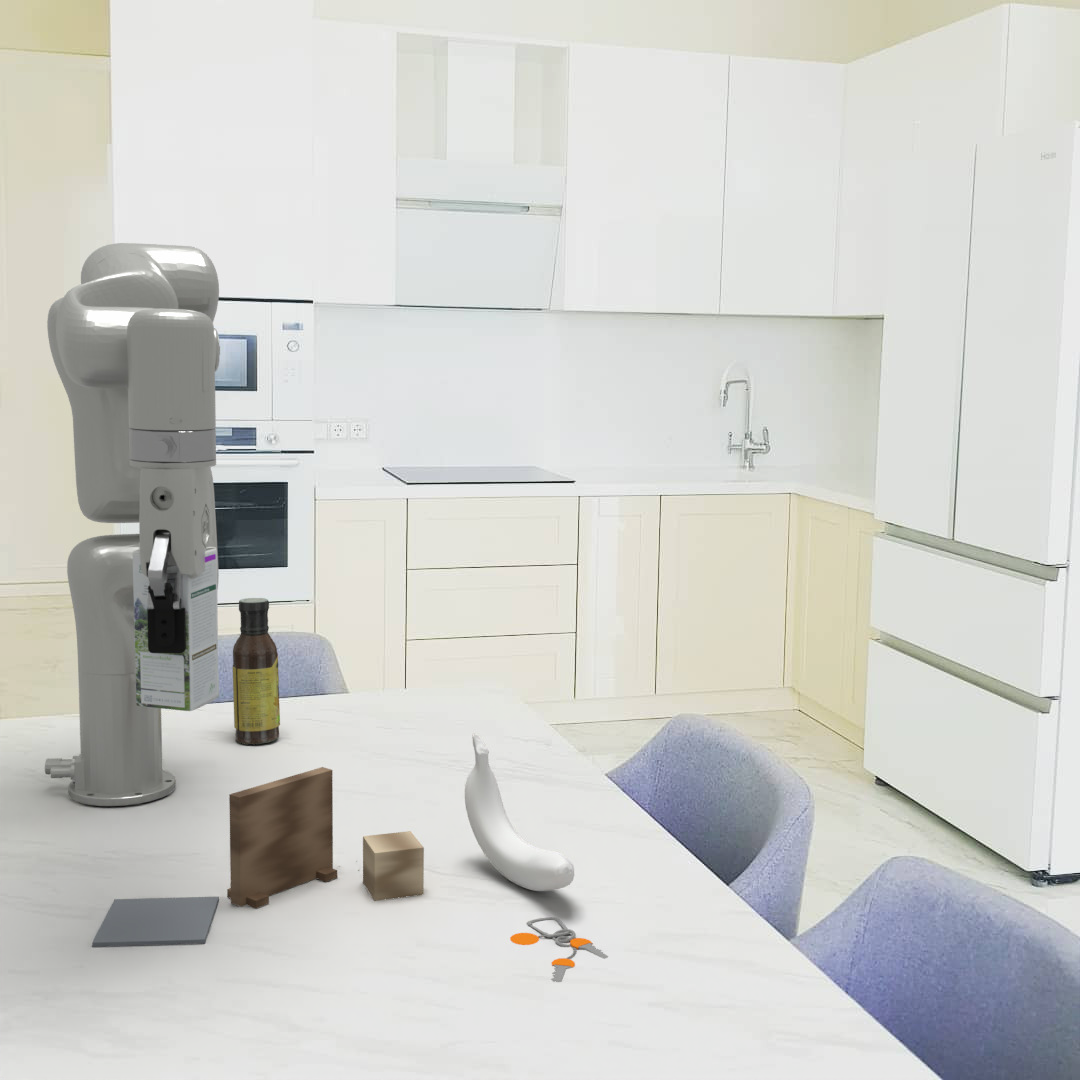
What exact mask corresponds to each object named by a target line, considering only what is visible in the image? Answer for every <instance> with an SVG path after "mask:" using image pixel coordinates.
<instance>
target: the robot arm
mask: <svg viewBox="0 0 1080 1080" xmlns="http://www.w3.org/2000/svg"><path fill="white" fill-rule="evenodd" d="M219 284H220V283H219V277H218V273H217V270H216V266H215V265H214V263H213V261H212V259H211V258H210V257H209V256H208V254H207V253H205V252H204V251H203V250H201V249H200V248H198V247H195V246H194V247H193V246H189V245H176V244H175V245H174V244H172V245H171V244H170V245H169V244H153V243H152V244H151V243H136V242H135V243H134V242H131V243H129V242H118V243H111V244H106V245H103V246H101V247H98V248H97V249H95V250H94V251H93V252H92V253H91V254H89V256H88V257H87V258H86V260H85V261H84V262H83V265H82V268H81V271H80V284H79V285H76V286H74V287H72V288H71V289H69V290H68V291H67V292H66V293H65V294H64V296H63V297H60V298H59V299H57V300H55V301H54V302H53V303H52V304H51V306H50V308H49V310H48V314H47V321H46V323H47V325H46V328H47V339H48V343H49V344H48V345H49V348H50V353H51V357H52V360H53V363H54V366H55V368H56V371H57V374H58V376H59V379H60V380H61V383H62V386H63V388H64V390H65V392H66V395H67V398H68V402H69V403H70V404H69V405H70V409H71V416H72V428H73V430H72V431H73V433H72V434H73V444H74V445H73V449H74V450H73V451H74V465H75V468H74V469H75V471H74V472H75V484H76V485H75V486H76V494H77V495H76V496H77V501H78V506H79V509H80V511H81V513H82V515H83V516H84V517H85V518H86V519H88V520H90V521H92V522H96V523H104V524H133V523H134V524H135V523H136V524H137V523H138V524H139V527H138V528H139V532H138V533H121V534H119V533H118V534H105V535H98V536H93V537H90V538H86V539H84V540H82V541H80V542H78V543H77V544H76V545H75V546H74V547H73V548H72V549H71V551H70V553H69V555H68V557H67V563H66V564H67V566H66V575H67V581H68V587H69V591H70V592H69V593H70V597H71V603H72V609H73V615H74V621H75V623H74V624H75V631H76V632H75V633H76V644H77V645H76V647H77V673H78V674H77V675H78V677H77V678H78V680H77V681H78V707H79V710H78V711H79V742H80V743H79V745H80V748H79V749H80V753H79V755H73V756H72V758H65V759H64V758H61V757H60V758H46V759H45V764H44V772H45V775H50V778H51V779H63V778H69V779H70V780H71V782H70V783H69V784H68V786H67V789H68V790H67V791H68V793H67V794H68V796H69V798H70V799H71V800H73V801H75V802H77V803H80V804H84V805H88V806H96V807H121V806H133V805H138V804H145V803H149V802H153V801H156V800H159V799H162V798H164V797H167V796H168V795H170V794H171V793H173V792H174V791H175V789H176V786H177V779H176V776H175V775H174V774H173V773H171V772H169V771H168V770H164V769H163V732H162V731H163V730H162V724H163V723H162V708H153V707H143V706H137V705H136V669H135V632H134V591H133V552H135V551H137V550H140V562H141V571H142V573H143V574H144V575H145V576H146V577H148V579H149V586H148V590H149V591H148V609H147V615H148V650H149V652H151V653H183V652H184V651H185V650H186V622H185V608H181V606H182V594H183V584H182V574H188V575H189V578H190V579H195V578H196V577H198V576H199V575H200V574H201V573H202V572H204V571H205V553H206V549H205V548H207V547H216V549H217V591H218V589H219V577H220V576H219V575H220V574H219V556H218V555H219V554H218V538H217V537H218V535H217V520H216V519H217V518H216V516H217V515H216V501H215V500H216V499H215V486H214V478H213V471H212V468H211V467H216V465H217V437H216V436H217V435H216V434H217V430H216V428H217V426H216V424H217V423H216V421H217V419H216V417H217V416H216V415H217V414H216V372H217V371H218V368H219V365H220V355H221V345H220V337H219V336H220V335H219V332H218V330H217V329H216V328H215V327H214V321H215V317H216V313H217V311H218V305H219V299H220V285H219ZM170 550H171V551H170ZM149 562H150V565H149V569H147V567H148V564H147V563H149ZM175 565H177V566H178V571H177V573H166V571H167V567H171V566H175ZM171 583H175V585H174V593H173V586H171Z"/></svg>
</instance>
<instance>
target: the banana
mask: <svg viewBox="0 0 1080 1080" xmlns="http://www.w3.org/2000/svg"><path fill="white" fill-rule="evenodd" d="M471 739H472V746H473V750H474V755H475V756H474V757H475V763H474V766H473V768H472V769H471V770H470V772H469V774H468V775H467V778H466V781H465V784H464V786H465V787H464V803H465V810H466V814H467V818H468V821H469V824H470V828H471V831H472V833H473V835H474V837H475V839H476V842H477V844H478V846H479V847H480V850H482V852H483V853H484V855H485V857H486V858H487V860H488V861H489V862H490V863H491V865H492V866H493V867H494V868H495V869H496V870H497V871H498V872H499V873H500V874H501V875H502V876H503V877H504V878H506V879H507V880H509V881H510V882H511V883H514V884H515V885H517V886H519V887H522V888H525V889H526V890H530V891H534V892H549V891H554V890H559V889H563V888H566V887H567V886H569V885H571V884H572V882H573V881H574V877H575V868H574V864H573V863H572V861H571V860H570V859H569V858H568V857H566V856H565V855H564V854H563V853H561V852H558V851H556V850H548V849H545V848H544V849H543V848H539V847H537V846H534V845H532V844H531V843H529V842H528V841H526V840H524V839H523V838H522V836H520V834H519V832H518V831H516V829H515V827H514V826H513V825H512V824H513V823H512V822H511V821H510V819H509V816H508V815H507V812H506V809H505V806H504V802H503V799H502V796H501V791H500V789H499V785H498V781H497V778H496V776H495V773H494V771H493V770H492V769H491V766H490V763H489V751H490V750H489V749H488V747H487V745H486V744H485V743H484V741H483V739H482V738H481V736H479V735H478V734H476V733H473V734H472V738H471Z"/></svg>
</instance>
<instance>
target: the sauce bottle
mask: <svg viewBox="0 0 1080 1080" xmlns="http://www.w3.org/2000/svg"><path fill="white" fill-rule="evenodd" d="M269 608H270V602H269V599H267V598H265V597H248V598H241V599H240V600H239V601H238V611H239V613H240V628H239V630H240V635H239V637H238V638H237V639H236V641H235V643H234V645H233V648H232V662H233V663H232V687H233V688H232V689H233V690H232V691H233V692H232V693H233V696H232V697H233V724H234V725H233V726H234V729H235V735H234V736H235V737H234V738H235V741H236V742H237V743H239V744H241V743H242V745H248V744H253V745H254V746H255V744H256V745H261V744H267V743H272V742H274V741H276V740H278V739H279V736H280V725H281V716H280V715H281V713H280V710H281V709H280V683H279V682H280V680H279V678H280V677H279V654H278V649H277V645H276V643H275V642H274V640H273V638H272V636H271V635H270V633H269V617H268V615H269Z"/></svg>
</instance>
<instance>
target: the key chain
mask: <svg viewBox="0 0 1080 1080" xmlns="http://www.w3.org/2000/svg"><path fill="white" fill-rule="evenodd" d="M551 920H553V921H556V922H557V923H558V924H559V926H561V929H559V930H556V931H554V932H553V933H548V932H545V931H543V930H541V929H539V928H537V927H536V926H534V925H533V924H534V923H537V922H543V921H551ZM526 925H527V926H528V927H530V928H532V929H534V930H535V931H537V932H538V933H540V934H542V935H537V934H535V933H534V934H533V933H531V932H519V933H514V934H512V935H511V936H510V938H509V939H510V942H512V944H513V943H514V944H515V945H518V946H519V945H520V946H531V945H534V944H536V943H538V942H539V941H540V938H549V939H550V938H551V939H552V941H554V942H555V944H556V945H558V946H559V947H563V948H571V949H572V951H573V952H572V954H571V955H570V956H567V957H566V958H564V957H563V958H556V959H553V961H552V962H551V966H552V967H554V968H553V969H554V972H552V978H551V979H550V980H551V981H552V982H555V981H556V982H555V983H561V982H563V979H564V975H565V973H566V970H569V969H573V968H574V967H575V966H576V963H575V961H573V960H572V959H573V958H574V957H575V956H576V954H577V951H578V950H585V951H587V952H589V953H590V954H593V955H595V956H597V957H599V958H602V959H608V957H609V955H607V954H605V953H604V951H603V950H601V949H598V948H596V946H595V945H593V942H592V941H591V940H590V939H587V938H584V937H583V938H582V937H576V935H577V934H576V932H575V931H574V930H573V929H570V928H568V927H567V926H566V924H565V923H564V922H563V921H562V920H561V919H560V918H559V917H557V916H548V917H540V918H535V919H531V920H528V921H527V922H526ZM570 934H571V936H568V935H570ZM575 937H576V938H575ZM567 943H569V944H567Z"/></svg>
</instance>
